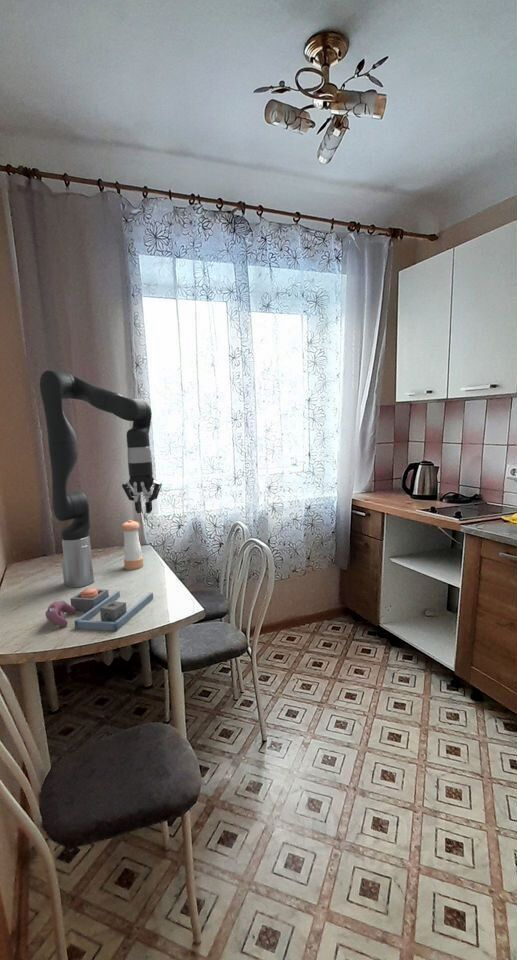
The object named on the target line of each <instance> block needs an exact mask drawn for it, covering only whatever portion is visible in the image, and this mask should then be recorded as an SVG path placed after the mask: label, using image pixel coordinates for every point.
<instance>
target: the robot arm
mask: <svg viewBox="0 0 517 960" xmlns="http://www.w3.org/2000/svg"><path fill="white" fill-rule="evenodd" d="M39 378H40V379H39V389H40V396H41V400H42V405H43V409H44V410H43V411H44V415H45V423H46V430H47V431H46V432H47V443H48V444H47V445H48V453H49V461H50V469H51V487H52V488H51V490H52V491H51V492H52V493H51V495H52V499H51V500H52V509H53V510H52V511H53V515H54V516H55V518H56V520H57V521H59V522H64V521H70V520H72V522H71V523H70V524H69V525H68V526H66V527H65V528H63V529H62V531H61V533H60V537H61V546H62V552H63V558H62V559H61V569H62V579H63V584H64V585H63V586H67V587H69V588H81V587H86V586H88V585H91V584H92V583H94V581H95V577H94V570H93V569H94V567H93V557H92V550H91V549H92V548H91V540H90V539H91V538H90V529H91V527H90V526H91V524H90V505H89V504H90V503H89V501H88V497H87V495H86V494H85V493H84V492H83V491H74V492H69V493H68V482H69V481H68V480H69V478H70V475H71V473H72V471H73V470H74V468H75V465H76V463H77V462H78V459H79V445H78V437H77V434H76V431H75V430H74V428H73V427H72V425H71V423H70V422H69V420H68V419H67V417H66V415H65V412H64V407H63V400H68V399H69V400H70V399H71V400H80V401H84V402H86V403H88V404H89V405H91V406H92V407H94V408H96V409H98V410H100V411H103V412H107V413H109V414H113V415H114V416H115V417H118V418H120V419H121V420H125V421H129V422H132V427H131V428H129V429H128V430H127V431H126V446H127V451H126V453H127V466H128V477H129V479H128V482H125V483H122V484H121V486H122V489H123V490H124V492H125V495H126V496H127V499H128V500H129V501H133V502H134V507H135V512H136V514H142V513H143V507H142V505H143V504H142V501H141V499H142V494H143V496H144V499H145V502H144V504H145V513H146V514H151V513H152V511H153V501H154V500H157V499H158V496H159V493H160V491H161V488H162V486H163V484H162V482H158V481H156V480H155V479H154V476H153V474H154V473H153V458H152V451H151V446H150V445H151V444H150V429H151V423H152V417H153V416H152V407H151V406H150V404H149V402H148V401H147V400H145V399H141V398H130V397H125V396H124V395H122V394H121V393H119V392H117V391H114V390H111V389H108V388H104V387H100V386H96V385H94V384H90V383H88V382H87V381H84V380H83V379H81V378H79V377H77V376H75V375H73V374H72V373H70V372H66V371H61V370H60V371H59V370H45V371H43V372H42V374H41V375H40V377H39ZM152 487H153V490H152Z"/></svg>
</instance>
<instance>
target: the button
mask: <svg viewBox="0 0 517 960" xmlns="http://www.w3.org/2000/svg"><path fill="white" fill-rule="evenodd" d="M85 589H86V590H85ZM85 589H83V590H84V591H83V590H82V591H83V592H82V591H80V592H81V598H94V597H95V596H97V595H98V590H97V589H98V588H92V587H91V588H85Z"/></svg>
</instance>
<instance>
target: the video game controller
mask: <svg viewBox="0 0 517 960" xmlns="http://www.w3.org/2000/svg"><path fill="white" fill-rule="evenodd" d="M76 613H77V611H76V609H75V608H74V607H73V606H71V604H69V603H68V602H66V601H64V600H62V599H58V600H55V601H53V602H51V603H50V604H49V606H48V607H47V610H46V612H45V617H46V619H47V621H48V622H50V623H52V624H54V625H55V626H58V627H60V628H61V627H62V628H65V627H67V626H68V621H67V619H66V618H65V617H66V615H65V614H69V615H75V614H76Z"/></svg>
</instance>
